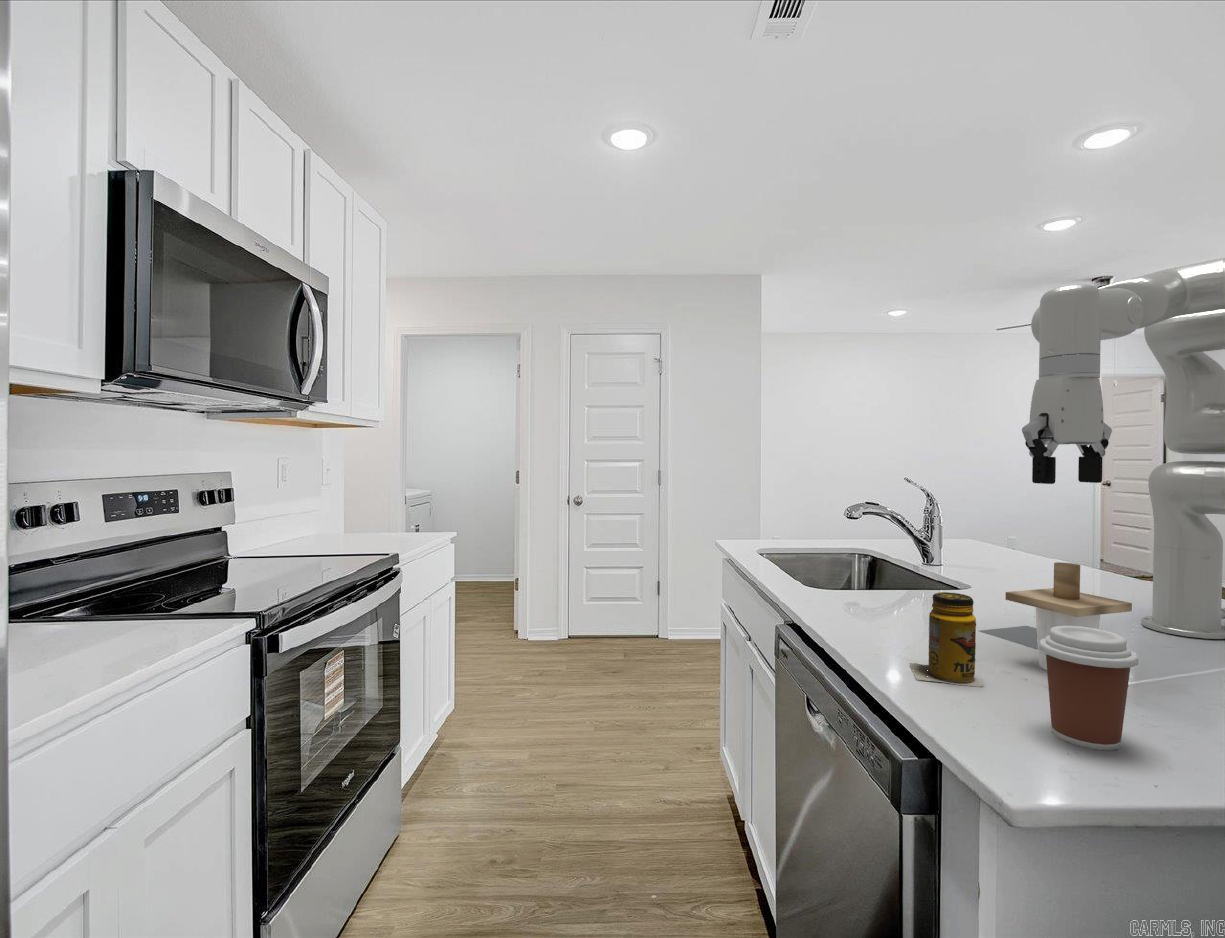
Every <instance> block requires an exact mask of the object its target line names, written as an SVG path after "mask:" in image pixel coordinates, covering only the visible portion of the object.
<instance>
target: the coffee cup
mask: <svg viewBox="0 0 1225 938" xmlns="http://www.w3.org/2000/svg"><path fill="white" fill-rule="evenodd" d="M1039 650H1041V651H1042V652H1044V653H1045V654H1046V661H1047V670H1046V674H1047V685H1048V687H1047V688H1048V698H1049V710H1050V711H1049V712H1050V723H1051V728H1050V729H1051V733H1052V734H1053V735H1054V736H1055V737H1056V738H1057V739H1060V740H1062V741H1064V742H1065V743H1068V744H1071V745H1075V746H1077V747H1081V748H1086V749H1090V750H1095V751H1096V750H1098V751H1116V750H1118V749H1120V748H1121V747H1122V738H1123V737H1122V736H1123V727H1124V721H1125V720H1124V719H1125V714H1126V711H1125V710H1126V706H1127V705H1126V704H1127V697H1128V690H1129V689H1128V688H1129V681H1130V680H1129V679H1130V673H1131V668H1133V667H1135V666H1138V665H1139V657H1138V654H1137V653H1136V652H1134V651H1132V650H1131V648H1130V647H1129V646H1127V639H1126V638H1125V637H1124V636H1123V635H1120V634H1119V633H1116V632H1112V631H1109V630H1104V629H1100V628H1099V629H1095V628H1088V627H1080V626H1056V627H1053V628H1051V629H1050V635H1048V636H1046V638H1044V639H1041V640H1040V644H1039ZM1039 650H1038V651H1039Z"/></svg>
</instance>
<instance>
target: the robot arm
mask: <svg viewBox="0 0 1225 938" xmlns="http://www.w3.org/2000/svg"><path fill="white" fill-rule="evenodd" d="M1030 327H1031V328H1030V329H1031V334H1032V336H1033V338H1034V339H1035V340H1036V341H1037V343H1038V344H1039V345H1038V346H1039V348H1038V349H1039V352H1038V354H1039V355H1038V359H1039V360H1038V379H1036V381H1035V384H1034V386H1033V391H1032V396H1031V402H1030V411H1029V422H1028V423H1027V424H1025V425H1024V426H1023V427H1022V428H1021V433H1022V435H1023V438H1024V440H1025V442H1024V443H1025V447H1027V449H1028V450H1029V456H1030V457H1031V458H1032V459H1031V460H1032V462H1031V463H1032V465H1031V466H1032V469H1031V470H1032V471H1031V472H1032V473H1031V477H1032V478H1031V480H1032V481H1031V482H1032V483H1033V484H1039V485H1040V484H1041V485H1042V484H1046V485H1054V484H1055V483H1056V476H1057V475H1056V473H1057V472H1056V471H1057V469H1056V468H1057V467H1056V466H1057V465H1056V464H1057V462H1056V459H1057V458H1056V456H1053V454H1054V452H1056V449H1057V448H1058V446H1059V445H1076V447H1077V449H1078V450H1079V452H1080V454H1081V455H1082V456H1078V466H1077V467H1078V473H1077V474H1078V475H1077V479H1078V482H1080V483H1090V484H1091V483H1092V484H1093V483H1094V484H1097V483H1098V484H1099V483H1102V481H1103V457H1105V455H1106V449H1107V448H1108V447H1109V440H1110V439H1111V435H1112V432H1113V429H1112V428H1111V427H1110V426H1109V425H1108V424H1106V423H1105V421H1104V420H1105V419H1104V402H1103V393H1102V386H1101V380H1100V378H1101V345H1102V343H1101V342H1102V341H1105V340H1106V341H1107V340H1113V339H1119V338H1122V337H1126V336H1129V335H1130V334H1132V333H1134V332H1135V331H1137V330H1140V329H1143V328H1144V329H1143V333H1144V335H1143V337H1144V339H1145V340H1144V341H1145V343H1146V345H1147V347H1148V348H1149V350H1150V352H1151V353H1152V355H1153V356H1154V358H1155V359H1156V361H1157V362H1158V364H1159V366H1160V368H1161V369H1162V372H1163V373H1164V375H1165V379H1166V398H1165V410H1164V421H1163V422H1164V423H1163V424H1164V425H1163V441H1164V445H1165V446H1166V448H1167V449H1168V450H1169V451H1171V452H1174V453H1178V454H1184V455H1185V454H1188V455H1225V368H1223V366H1222V365H1221V364H1220V363H1219V362H1217V361H1216V360H1215V359H1213V358H1212V357H1210V356H1209V354H1206V353H1205V352H1213V351H1221V350H1225V257H1221V258H1216V259H1210V260H1206V261H1200V262H1196V263H1191V264H1187V265H1181V266H1177V267H1173V268H1171V267H1170V268H1166V269H1162V270H1158V271H1155V272H1152V273H1147V274H1143V275H1139V276H1137V277H1132V278H1129V279H1126V280H1121V281H1117V282H1114V283H1111V284H1107V285H1103V286H1101V287H1097V286H1095V285H1092V284H1071V285H1065V286H1060V287H1055V288H1053V289H1051V290H1047V291H1046V292H1045V293H1043V295H1042V296H1041V297H1040V300H1039V306H1038V307H1037V309H1036V310H1035V312H1034V313H1033V315H1032V318H1031V322H1030ZM1147 482H1148V487H1147V488H1148V493H1149V498H1150V502H1151V508H1152V516H1153V553H1152V554H1153V557H1152V559H1153V563H1152V566H1153V567H1152V608H1151V609H1152V611H1151V615H1148V616H1143V617H1141V625H1142V626H1143V627H1146V628H1147V629H1151V630H1154V631H1157V632H1161V633H1165V634H1171V635H1176V636H1181V637H1187V638H1195V639H1205V640H1225V625H1222V620H1224V619H1225V607H1222V599H1223V598H1222V597H1223V594H1222V593H1223V563H1224V562H1223V560H1224V559H1223V555H1224V554H1223V553H1224V552H1223V551H1224V540H1223V536H1222V534H1221V532H1220V530H1219V529H1218V527H1217V526H1215V524H1214V523H1213V522H1212V521H1211V520H1210V519H1209V518H1208V516H1206V515H1222V516H1223V515H1225V461H1219V460H1218V461H1215V460H1206V461H1205V460H1178V461H1170V462H1166V463H1162V464H1160V465H1158V466H1156V467H1155V468H1153V470H1152V471H1151V472H1150V474H1149V476H1148V481H1147Z"/></svg>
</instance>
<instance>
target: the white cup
mask: <svg viewBox="0 0 1225 938" xmlns="http://www.w3.org/2000/svg"><path fill="white" fill-rule="evenodd" d="M1100 618H1101V615H1092V616H1082V617H1075V616H1071V615H1066V614H1062V613H1058V612H1054V611H1050V610H1046V609H1042V608H1038V607H1035V622H1036V625H1035V628H1036V631H1037V644H1038V646H1037V648H1038V666H1039V667H1040V668H1041V669H1043V670H1046V671H1047V661H1046V654H1045V653H1044V652H1042V651H1041V650H1039V644H1040V640H1041V639H1044V638H1046V636H1048V635H1050V629H1051V628H1053V627H1056V626H1080V627H1088V628H1095V629H1100Z"/></svg>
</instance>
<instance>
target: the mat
mask: <svg viewBox="0 0 1225 938" xmlns="http://www.w3.org/2000/svg"><path fill="white" fill-rule="evenodd" d="M978 632H980V633H983V634H986V635H989V636H992V637H996V638H999V639H1002V640H1005V641H1008V642H1011V643H1015V644H1018V645H1022V646H1026V647H1028V648H1031V649H1034V650H1038V648H1037V646H1038V644H1037V631H1036V627H1034V626H1029V625H1022V626H1010V627H1001V628H990V629H982V630H978ZM1038 651H1039V650H1038Z"/></svg>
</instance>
